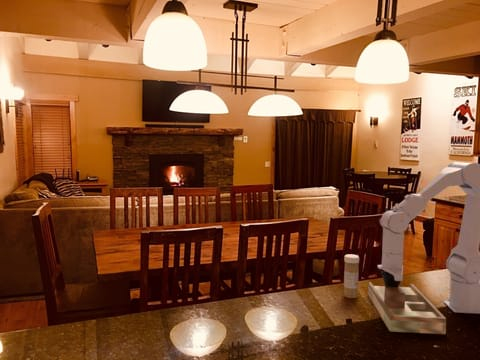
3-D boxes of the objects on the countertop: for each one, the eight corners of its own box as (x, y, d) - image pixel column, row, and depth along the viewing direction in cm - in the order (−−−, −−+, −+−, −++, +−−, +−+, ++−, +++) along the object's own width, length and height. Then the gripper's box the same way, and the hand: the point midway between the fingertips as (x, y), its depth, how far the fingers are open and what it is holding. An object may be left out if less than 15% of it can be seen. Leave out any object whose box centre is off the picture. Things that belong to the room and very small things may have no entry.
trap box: (412, 296, 128) (412, 283, 127) (445, 334, 102) (446, 318, 102) (368, 294, 129) (368, 282, 129) (389, 331, 104) (390, 315, 103)
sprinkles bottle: (351, 292, 131) (352, 253, 130) (361, 297, 127) (362, 256, 126) (340, 294, 129) (341, 254, 128) (349, 299, 125) (351, 258, 124)
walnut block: (400, 302, 115) (400, 287, 115) (404, 308, 111) (405, 293, 110) (384, 301, 116) (384, 286, 115) (388, 307, 111) (388, 292, 111)
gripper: (373, 245, 123) (371, 287, 125) (384, 258, 109) (383, 305, 110) (396, 246, 123) (394, 288, 124) (411, 259, 108) (409, 306, 109)
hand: (390, 296), depth 117 cm, fingers closed
